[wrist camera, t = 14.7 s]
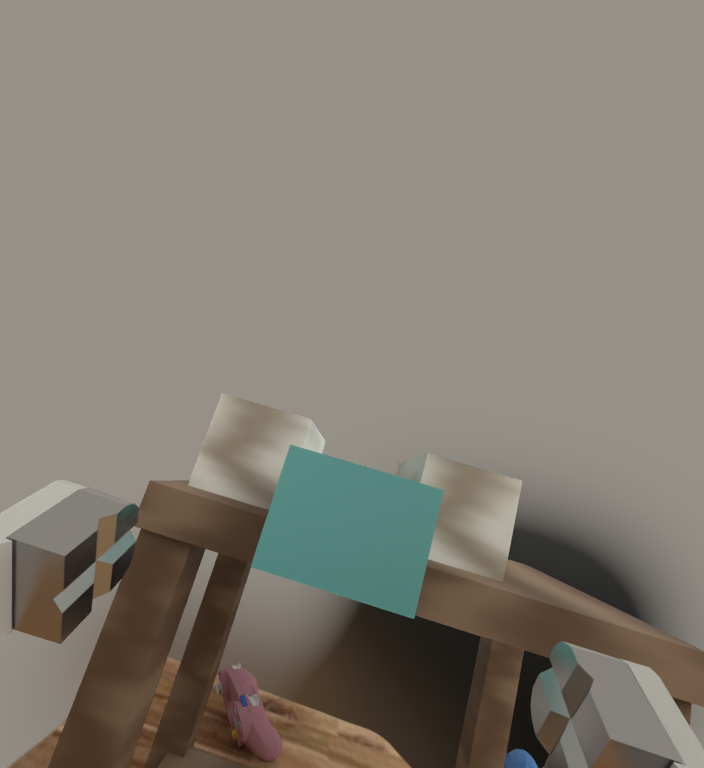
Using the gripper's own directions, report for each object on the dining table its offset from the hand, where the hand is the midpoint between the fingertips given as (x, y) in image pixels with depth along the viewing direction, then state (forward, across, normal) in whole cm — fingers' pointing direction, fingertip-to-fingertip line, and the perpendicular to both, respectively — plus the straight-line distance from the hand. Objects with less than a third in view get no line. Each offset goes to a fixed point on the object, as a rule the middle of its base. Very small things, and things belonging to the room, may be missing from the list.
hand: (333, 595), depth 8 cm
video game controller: (+24, +4, +44) cm, 51 cm away
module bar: (+12, 0, +7) cm, 14 cm away
